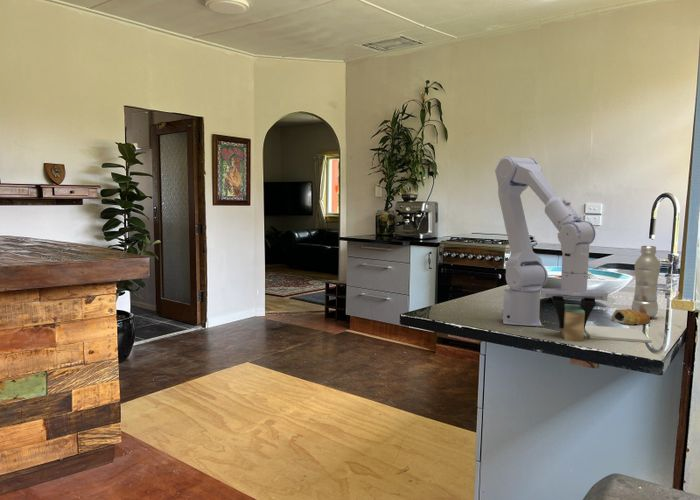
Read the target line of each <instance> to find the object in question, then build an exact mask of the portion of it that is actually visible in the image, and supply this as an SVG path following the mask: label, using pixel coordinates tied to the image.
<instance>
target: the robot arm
mask: <svg viewBox="0 0 700 500" xmlns="http://www.w3.org/2000/svg"><path fill="white" fill-rule="evenodd" d="M494 171H495V176H496V182H497V195H498V201H499V205H500V208H501V214H502V219H503V222H504V227H505V231H506V237H507V240H508V246H509V250H510V255H511V256H510V257H509V258H508V259H507V261H505V263H504V264H505V281H506V284H507V285H508V287H509V288H504V289H503V298H502V299H503V301H502V304H503V305H502V309H501V317H502V322H503V324H504V325H511V326H512V325H514V326H515V325H516V326H528V327H529V326H530V327H542V326H543V325H542V322H541V320H540V308H541V307H540V304H541V298H551V300H552V303H553V306H554V307H555V310H556V313H557V314H556V315H557V318H558V324H559V325H558V327H559V329H560V328H561V329H563V327H564V306H565V304H566V302H565V299H572V300H573V299H574V300H576V299H578V300H580V307H581V308H582V309H583V310H584V311H585V318H584V330H585V325H586V324H587V323H588V320H589V317H590V314H591V313H592V311H593V310H594V308H595V307H596V305H597V304H596V303H597V301H603V302H607V301H608V298H609V297H608V295H609V294H608V292H607V291H606V290H605V291H603V290H591V289H588V277H589V258H590V245H591V244H592V243H593V242H594V240H595V239H596V229H595V227H594V225H593V223H592V222H590V221H589V220H584V219H583V218H582V216H581V215H580V214H578V213H577V212H576V210H575V209H574V207H573V206H572V205H571V203H572V202H571V201H570V200H569V199H566V198H564V197H559V196H558V195H557V194H556V193H557V192H555V190H554V189H553V187H552V186H551V184H550V182H549V181H548V180H547V178H546V176H545V175H544V173H543V172H542V171H543V167H542V166H541V165H540V164H539V162H538V161H537V160H536V159H535V158H533V157H511V156H503V157H502V158H500V159H499V161H498V163H497V166H496V168H495V170H494ZM528 187H529V188H530V189H531V190H532V191H533V192H534V193H535V195H536V196H537V197H538V198H539V200H540V201H541V202H542V203H543V205H545V206H544V213H545V215H546V216H547V218H548V219H549V220H550V222H551V223H552V225H553V226H554V227H555V228H556V229H557V231H558V232H557V239H558V242H559V243H560V247H561V248H560V251H561V252H562V256H561V258H562V259H561V260H562V261H561V275H560V276H561V279H560V288H558V287H557V288H554V287H553V288H548V287H546V288H543V286H545V285H546V283H547V281H548V276H549V273H548V270H547V268H546V267H545V265H544V264H543V260H542V258H541V257H540V256H539V254H537V253H535V252H534V251H533V245H532V242H531V237H530V233H529V229H528V224H527V221H526V216H525V211H524V208H523V203H522V197H521V195H522V193H523V192H525V190H526V189H528ZM596 300H597V301H596Z"/></svg>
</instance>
